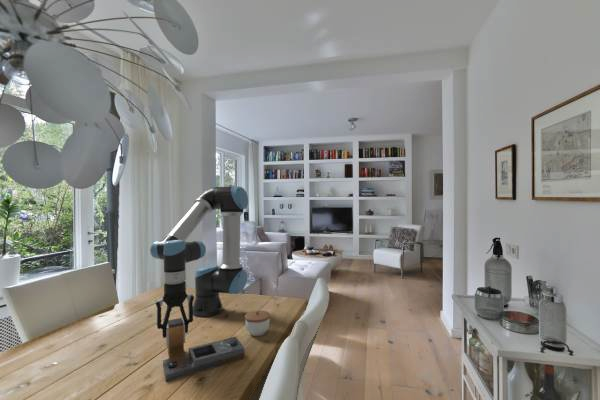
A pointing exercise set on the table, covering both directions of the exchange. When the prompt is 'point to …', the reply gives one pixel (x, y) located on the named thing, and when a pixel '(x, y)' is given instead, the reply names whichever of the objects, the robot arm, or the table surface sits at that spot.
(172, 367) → the slotted plate with knobs
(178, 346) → the square wooden peg
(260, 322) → the lidded jar
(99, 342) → the table surface
